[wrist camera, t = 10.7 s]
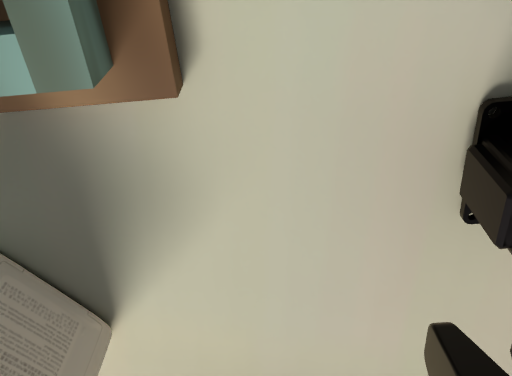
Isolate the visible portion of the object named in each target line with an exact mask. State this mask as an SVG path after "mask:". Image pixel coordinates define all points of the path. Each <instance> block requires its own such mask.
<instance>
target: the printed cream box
mask: <svg viewBox="0 0 512 376" xmlns="http://www.w3.org/2000/svg"><path fill="white" fill-rule="evenodd" d="M111 335H112V330H111V328H110V327H109V326H108V325H107V324H106V323H105V322H104V321H102V320H101V319H100V318H99V317H97V316H96V315H95V314H93V313H92V312H90V311H88V310H87V309H86V308H84V307H83V306H81V305H80V304H78V303H77V302H75V301H73V300H72V299H70V298H69V297H67V296H66V295H64V294H63V293H61V292H60V291H58V290H57V289H55V288H54V287H52V286H51V285H49V284H47V283H46V282H44V281H43V280H41V279H40V278H38V277H37V276H35V275H34V274H32V273H30V272H29V271H27V270H26V269H24V268H23V267H22V266H20V265H18V264H17V263H15V262H13V261H12V260H10V259H9V258H7V257H5V256H4V255H2V254H0V376H98V373H99V370H100V368H101V365H102V362H103V360H104V357H105V354H106V351H107V348H108V345H109V342H110V339H111Z"/></svg>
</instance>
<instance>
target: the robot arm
mask: <svg viewBox="0 0 512 376" xmlns="http://www.w3.org/2000/svg"><path fill="white" fill-rule="evenodd" d="M495 107H496V111H495V112H494V113H493V114H490V115H488V113H489V111H490V110H491V109H492V108H495ZM460 195H461V197H462V204H461V209H460V216H461V217H462V219H463V220H464V222H465V223H467V224H481V226H482V227H483V229H484V230H485V232H486V233H487V235H488V236H489V238H490V239H491V240H492V242H493V243H494V244H495V245H496V246H497V247H498V248H499V249H506V248H508V250H509V251H510V253H511V254H512V97H505V98H492V99H489V100H487V101H485V102H483V104H482V105H481V106H480V108H479V111H478V117H477V122H476V128H475V133H474V138H473V144H472V145H471V146H470V147H469V149H468V150H467V154H466V160H465V165H464V171H463V177H462V182H461V188H460ZM470 213H473V214H472V215H469V214H470ZM510 352H511V357H512V345H511V349H510ZM424 356H425V363H426V367H427V371H428V375H429V376H509V375H508V374H507V373H506V372H505V371H504V370H503V369H502V368H501V367H500V366H498V365H497V364H496V363H495V362H494V361H493V360H492V359H491V358H490V357H489V356H488V355H487V354H486V353H485V352H483V351H482V350H481V349H480V348H479V347H478V346H477V345H476V344H475V343H474V342H473V341H472V340H471V339H470V338H468V337H467V336H466V335H465V334H464V333H463V332H462V331H461V330H460V329H459V328H458V327H457V326H456V325H454V324H453V323H450V322H442V323H432V324H430V325H429V327H428V332H427V338H426V344H425V350H424Z"/></svg>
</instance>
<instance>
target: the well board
mask: <svg viewBox="0 0 512 376" xmlns="http://www.w3.org/2000/svg"><path fill="white" fill-rule="evenodd" d="M182 86H183V82H182V76H181V71H180V65H179V60H178V55H177V49H176V44H175V38H174V33H173V27H172V22H171V17H170V11H169V6H168V0H0V113H3V112H15V111H26V110H38V109H50V108H61V107H73V106H84V105H96V104H107V103H119V102H131V101H142V100H154V99H165V98H177V97H178V96H179V93H180V91H181V88H182Z"/></svg>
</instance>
